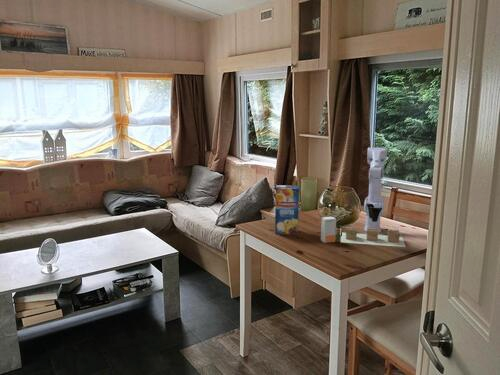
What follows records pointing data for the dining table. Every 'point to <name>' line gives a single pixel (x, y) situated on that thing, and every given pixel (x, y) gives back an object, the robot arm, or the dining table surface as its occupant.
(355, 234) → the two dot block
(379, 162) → the robot arm
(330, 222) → the skincare box
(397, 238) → the one dot block
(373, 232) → the plain block
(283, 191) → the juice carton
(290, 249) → the dining table surface
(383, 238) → the sage mat
